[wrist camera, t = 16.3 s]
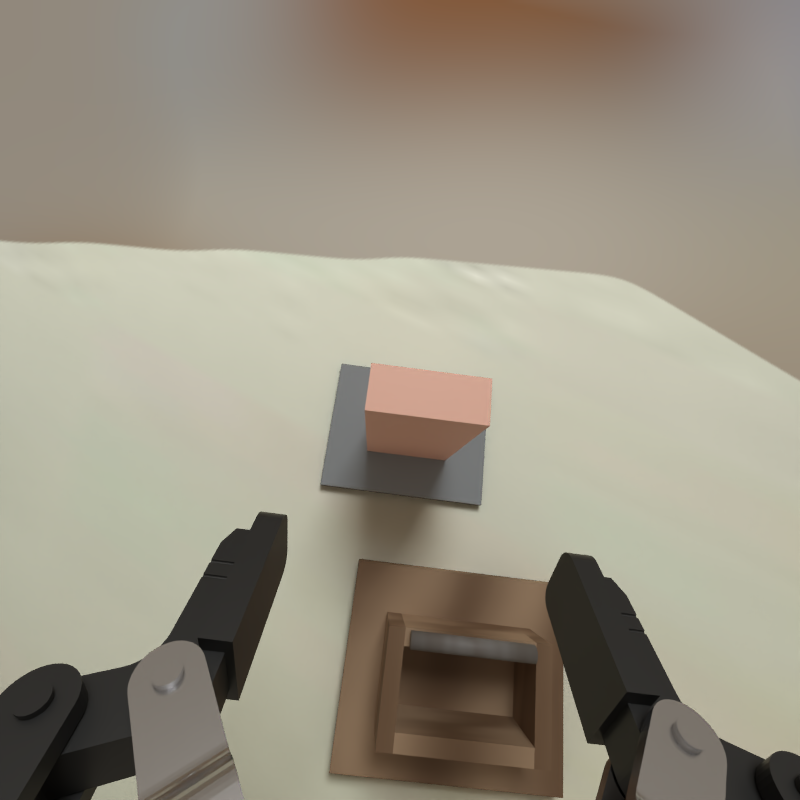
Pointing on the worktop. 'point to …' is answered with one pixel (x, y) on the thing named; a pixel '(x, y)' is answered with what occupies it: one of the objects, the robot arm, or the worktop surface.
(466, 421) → the salmon pink brick
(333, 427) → the mat
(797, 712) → the worktop surface
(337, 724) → the holder
